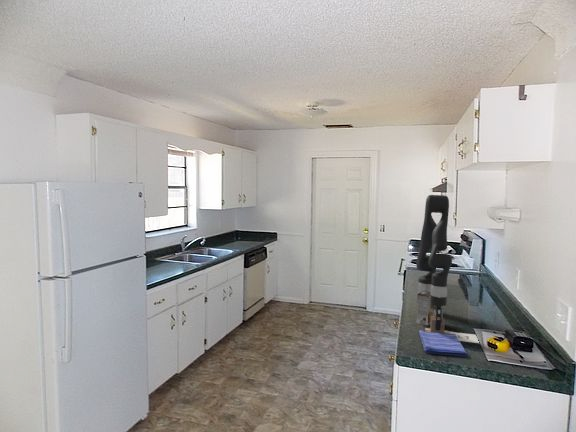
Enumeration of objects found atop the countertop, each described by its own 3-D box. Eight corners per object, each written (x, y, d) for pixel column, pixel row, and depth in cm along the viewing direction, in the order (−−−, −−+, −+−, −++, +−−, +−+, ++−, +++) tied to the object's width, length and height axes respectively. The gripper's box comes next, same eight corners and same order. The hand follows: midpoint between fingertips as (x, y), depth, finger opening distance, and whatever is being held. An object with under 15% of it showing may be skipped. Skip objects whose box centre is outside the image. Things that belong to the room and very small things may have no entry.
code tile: (449, 331, 194) (449, 331, 194) (475, 335, 190) (475, 334, 190) (451, 340, 182) (451, 339, 182) (479, 343, 179) (479, 343, 178)
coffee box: (422, 319, 213) (423, 290, 212) (434, 322, 209) (435, 292, 208) (415, 323, 206) (417, 293, 205) (428, 326, 202) (429, 295, 201)
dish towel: (425, 354, 165) (425, 347, 165) (418, 333, 188) (418, 327, 188) (468, 358, 162) (468, 351, 161) (455, 336, 185) (456, 331, 185)
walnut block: (430, 329, 194) (430, 315, 194) (443, 331, 193) (443, 317, 192) (430, 333, 189) (431, 319, 188) (444, 335, 187) (444, 320, 187)
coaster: (424, 329, 197) (424, 327, 197) (448, 331, 194) (448, 330, 194) (425, 335, 187) (425, 334, 187) (450, 338, 184) (450, 337, 184)
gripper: (429, 290, 198) (428, 322, 198) (431, 297, 184) (429, 331, 185) (445, 292, 195) (444, 323, 196) (448, 298, 182) (446, 333, 182)
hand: (437, 327), depth 190 cm, fingers open, 8 cm apart
